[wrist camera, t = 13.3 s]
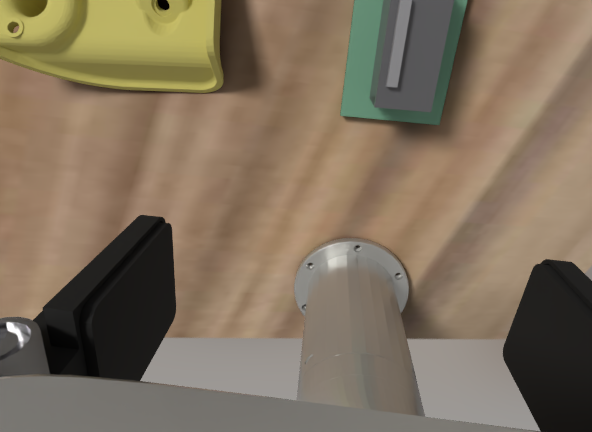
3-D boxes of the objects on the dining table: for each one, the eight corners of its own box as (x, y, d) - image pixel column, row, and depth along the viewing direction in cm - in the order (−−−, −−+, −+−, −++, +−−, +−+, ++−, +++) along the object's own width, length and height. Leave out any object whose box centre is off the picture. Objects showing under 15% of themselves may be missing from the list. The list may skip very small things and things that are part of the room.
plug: (418, 102, 37) (432, 113, 32) (369, 98, 37) (375, 108, 32) (441, -19, 33) (462, -28, 28) (386, -23, 33) (396, -32, 28)
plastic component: (217, -65, 32) (212, 62, 31) (231, -11, 39) (227, 93, 39) (-41, -77, 32) (-48, 52, 31) (22, -19, 39) (17, 85, 39)
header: (436, 122, 38) (449, 134, 34) (340, 113, 39) (341, 123, 35) (469, -26, 33) (488, -34, 29) (358, -35, 34) (361, -44, 30)
